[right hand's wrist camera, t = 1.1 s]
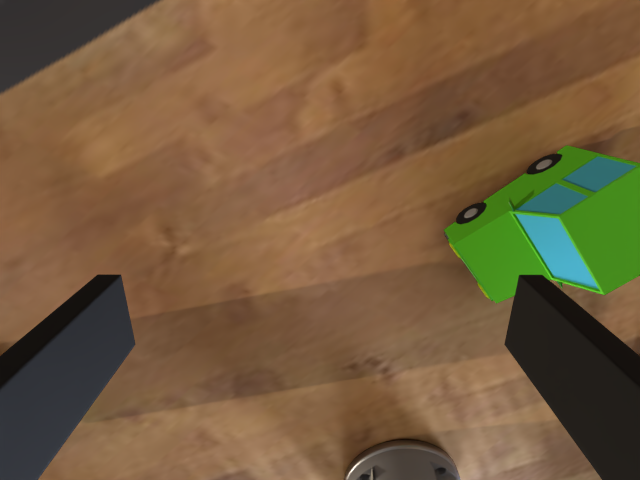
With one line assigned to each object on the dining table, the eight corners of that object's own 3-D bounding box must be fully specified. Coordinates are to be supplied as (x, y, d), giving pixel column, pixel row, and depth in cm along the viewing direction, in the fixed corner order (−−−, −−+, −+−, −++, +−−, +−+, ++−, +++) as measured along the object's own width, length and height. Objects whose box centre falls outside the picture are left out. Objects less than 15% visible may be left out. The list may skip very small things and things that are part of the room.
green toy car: (429, 219, 38) (464, 261, 29) (554, 134, 35) (637, 151, 26) (480, 290, 41) (526, 350, 32) (599, 218, 38) (688, 260, 29)
